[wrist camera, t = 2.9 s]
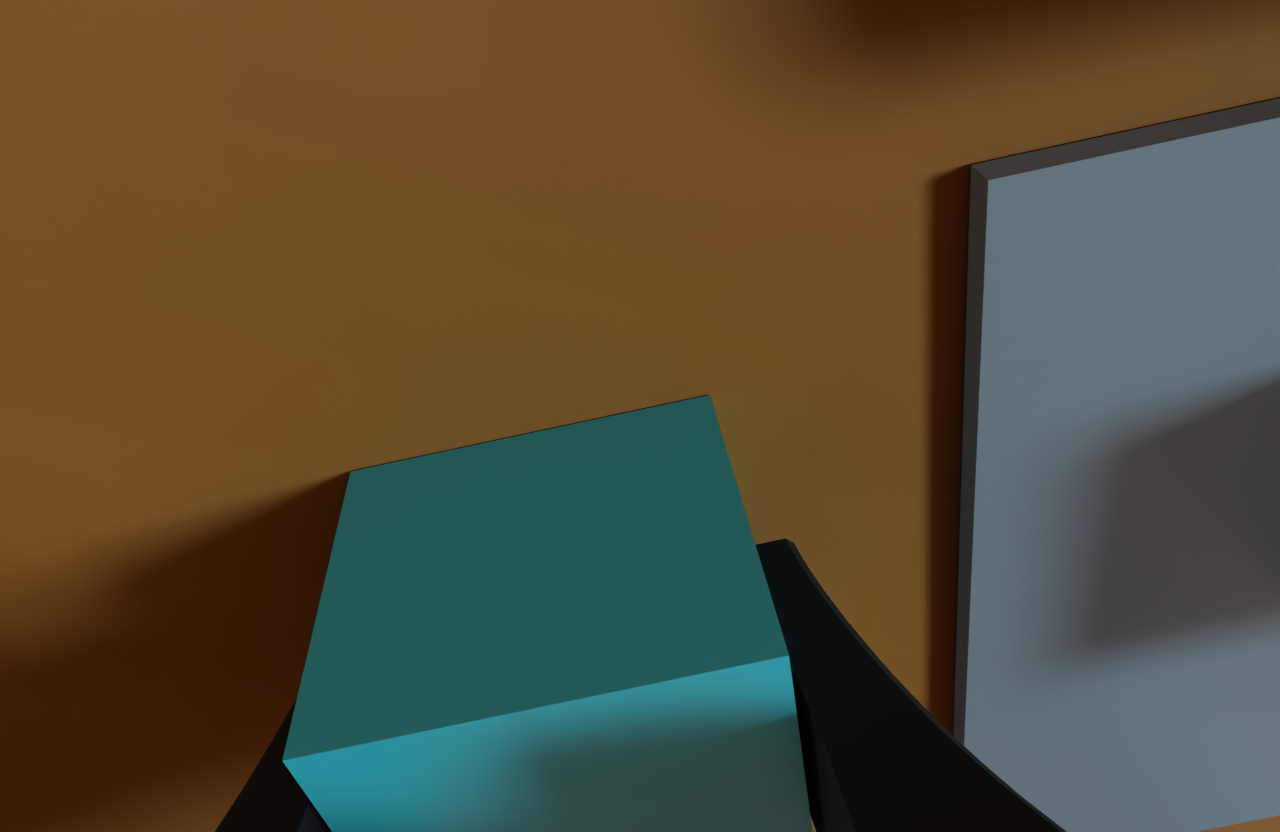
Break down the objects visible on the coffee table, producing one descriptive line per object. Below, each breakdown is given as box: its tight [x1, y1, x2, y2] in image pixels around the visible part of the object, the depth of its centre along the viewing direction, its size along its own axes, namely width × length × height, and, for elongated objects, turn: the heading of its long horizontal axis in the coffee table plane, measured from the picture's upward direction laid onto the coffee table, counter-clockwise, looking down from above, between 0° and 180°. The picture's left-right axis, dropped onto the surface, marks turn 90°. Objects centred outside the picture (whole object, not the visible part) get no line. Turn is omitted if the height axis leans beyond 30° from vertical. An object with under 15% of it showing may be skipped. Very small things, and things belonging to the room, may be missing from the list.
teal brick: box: [282, 395, 812, 832], centre depth 12 cm, size 5×5×4 cm
